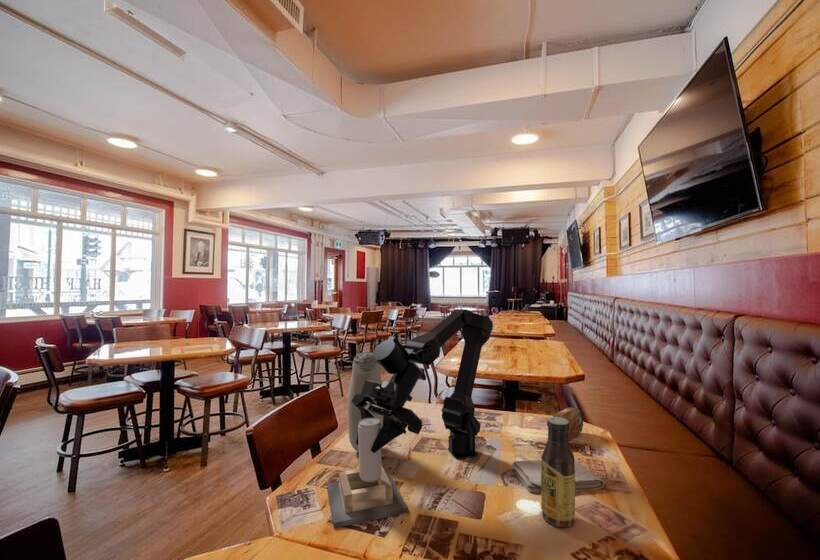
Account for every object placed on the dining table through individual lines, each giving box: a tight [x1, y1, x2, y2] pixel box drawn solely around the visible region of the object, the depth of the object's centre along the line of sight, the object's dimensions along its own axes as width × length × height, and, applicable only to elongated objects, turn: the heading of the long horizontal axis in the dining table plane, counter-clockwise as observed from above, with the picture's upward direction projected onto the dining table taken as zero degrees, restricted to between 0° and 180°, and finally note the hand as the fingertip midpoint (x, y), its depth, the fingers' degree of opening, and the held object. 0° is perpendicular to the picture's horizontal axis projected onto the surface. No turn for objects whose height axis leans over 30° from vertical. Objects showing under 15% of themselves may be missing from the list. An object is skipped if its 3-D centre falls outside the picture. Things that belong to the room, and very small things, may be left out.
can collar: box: [326, 464, 409, 529], centre depth 82 cm, size 15×15×4 cm
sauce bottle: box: [540, 416, 576, 528], centre depth 74 cm, size 7×6×20 cm
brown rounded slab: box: [552, 406, 584, 442], centre depth 113 cm, size 15×3×8 cm, turn 129°
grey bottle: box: [347, 351, 383, 453], centre depth 106 cm, size 10×10×28 cm
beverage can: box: [358, 418, 382, 482], centre depth 81 cm, size 5×5×12 cm
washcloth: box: [511, 458, 605, 494], centre depth 90 cm, size 12×18×3 cm, turn 97°
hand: (364, 448), depth 80 cm, fingers closed on beverage can, 5 cm apart
